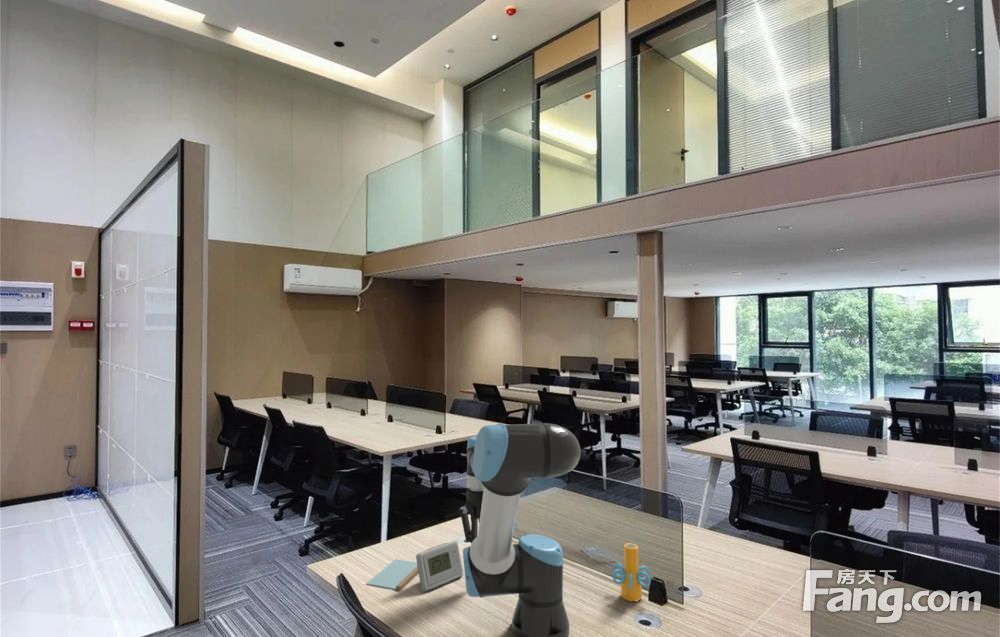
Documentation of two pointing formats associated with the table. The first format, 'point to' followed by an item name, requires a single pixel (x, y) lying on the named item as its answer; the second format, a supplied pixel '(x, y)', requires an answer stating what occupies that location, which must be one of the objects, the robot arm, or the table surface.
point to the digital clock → (439, 565)
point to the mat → (395, 575)
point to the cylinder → (631, 574)
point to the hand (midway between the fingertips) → (477, 564)
